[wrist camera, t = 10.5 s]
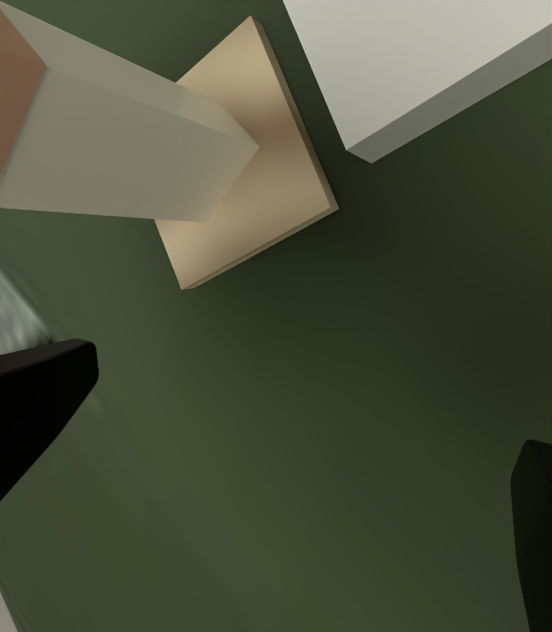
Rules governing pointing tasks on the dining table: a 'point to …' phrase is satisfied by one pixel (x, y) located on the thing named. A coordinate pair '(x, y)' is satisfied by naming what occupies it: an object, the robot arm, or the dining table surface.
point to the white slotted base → (415, 60)
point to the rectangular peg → (106, 132)
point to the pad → (250, 163)
